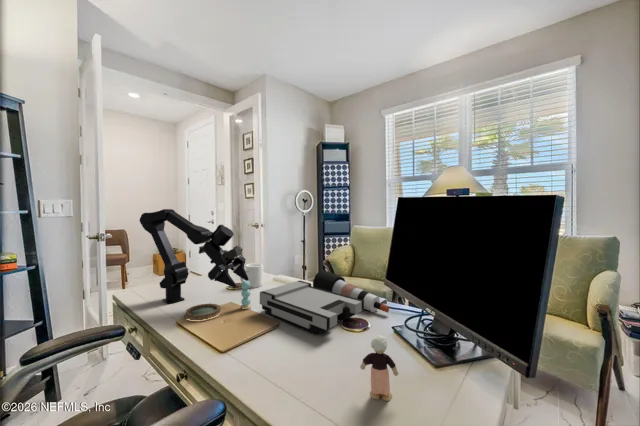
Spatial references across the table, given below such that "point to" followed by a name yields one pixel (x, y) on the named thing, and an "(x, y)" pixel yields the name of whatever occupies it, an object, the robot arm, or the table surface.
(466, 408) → the table surface
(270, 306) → the grey boxy piece
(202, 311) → the groove tray
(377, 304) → the cable
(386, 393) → the grandmother figurine
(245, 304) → the bead stack
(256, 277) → the mug
